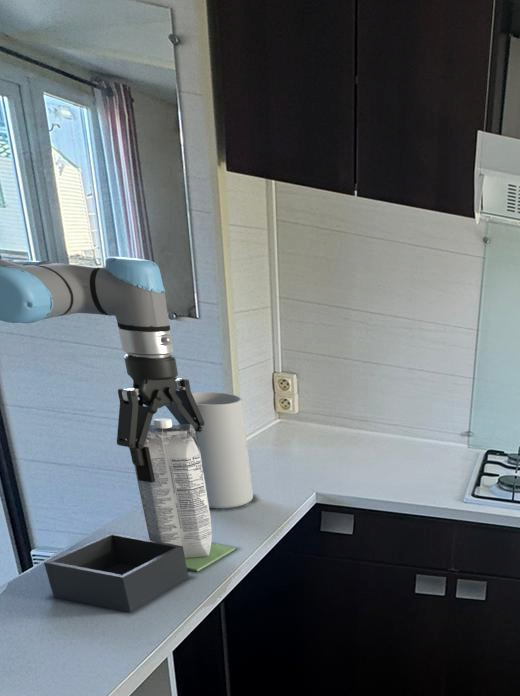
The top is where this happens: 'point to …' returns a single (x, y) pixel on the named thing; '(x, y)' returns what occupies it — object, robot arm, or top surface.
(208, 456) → the cylinder vase
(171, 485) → the juice carton
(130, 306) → the robot arm
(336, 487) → the top surface
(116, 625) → the top surface
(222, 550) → the placemat
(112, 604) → the box
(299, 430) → the top surface
